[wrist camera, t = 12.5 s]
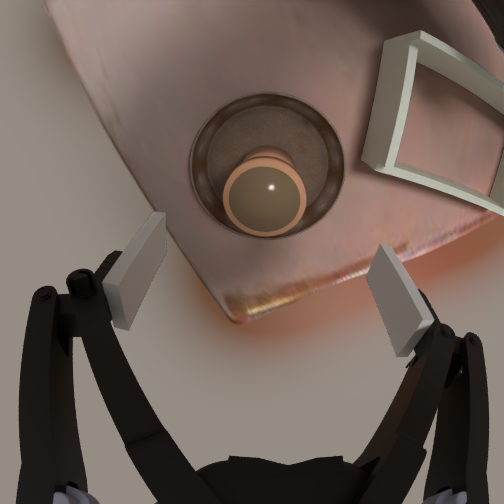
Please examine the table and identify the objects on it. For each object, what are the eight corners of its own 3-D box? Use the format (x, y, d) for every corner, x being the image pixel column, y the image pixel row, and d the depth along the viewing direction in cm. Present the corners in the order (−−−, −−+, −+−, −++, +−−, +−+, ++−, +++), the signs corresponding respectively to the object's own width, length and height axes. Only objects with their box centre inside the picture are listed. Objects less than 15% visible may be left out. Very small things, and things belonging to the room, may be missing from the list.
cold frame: (383, 40, 22) (421, 30, 15) (513, 117, 23) (552, 131, 16) (360, 159, 31) (389, 183, 23) (490, 203, 32) (522, 230, 24)
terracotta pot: (243, 134, 27) (231, 151, 21) (308, 150, 28) (317, 173, 21) (231, 192, 31) (216, 226, 25) (290, 206, 32) (292, 244, 25)
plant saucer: (314, 74, 26) (319, 72, 23) (353, 206, 35) (360, 216, 32) (172, 126, 30) (164, 129, 27) (229, 244, 39) (226, 256, 36)
